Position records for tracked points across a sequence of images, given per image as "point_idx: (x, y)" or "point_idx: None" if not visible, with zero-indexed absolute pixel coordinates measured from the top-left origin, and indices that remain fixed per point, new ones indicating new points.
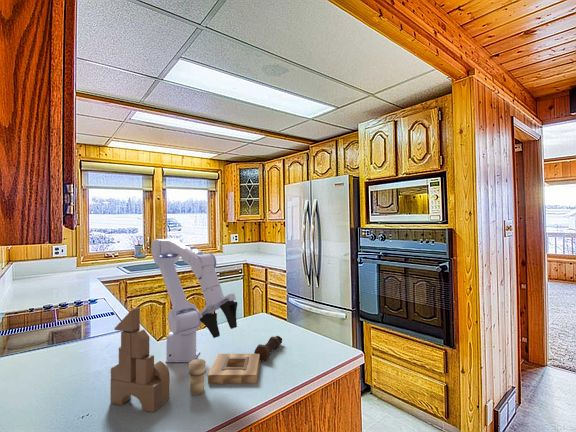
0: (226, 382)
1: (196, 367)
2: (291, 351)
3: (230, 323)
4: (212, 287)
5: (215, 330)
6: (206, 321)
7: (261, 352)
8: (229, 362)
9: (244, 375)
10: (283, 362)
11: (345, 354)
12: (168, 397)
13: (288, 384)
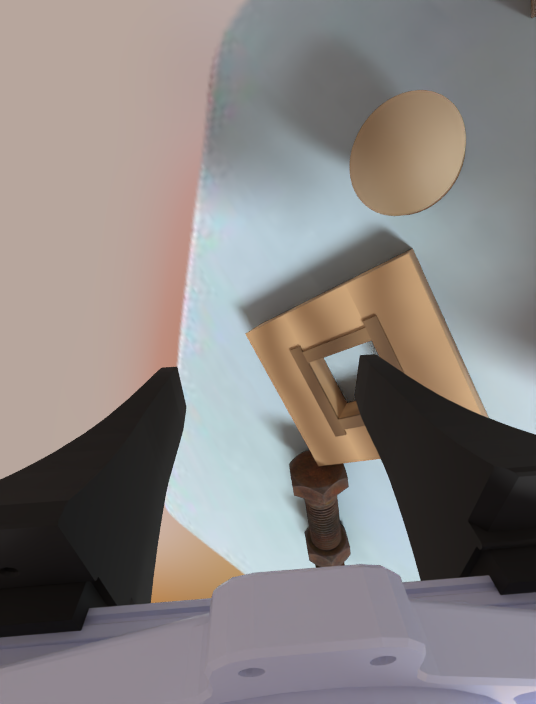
0: (340, 284)
1: (372, 114)
2: (278, 511)
3: (144, 384)
4: None
5: (374, 408)
6: (449, 433)
7: (313, 470)
8: None
9: (275, 318)
10: (262, 451)
11: (177, 500)
12: (532, 2)
13: (193, 350)
